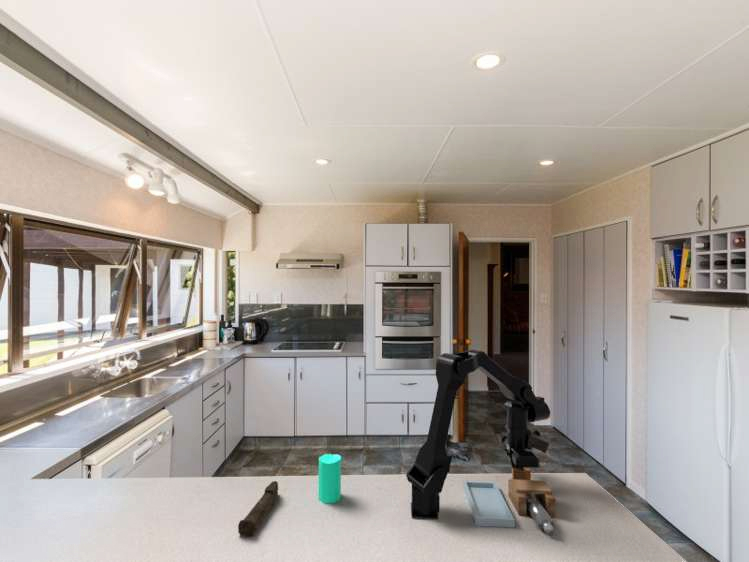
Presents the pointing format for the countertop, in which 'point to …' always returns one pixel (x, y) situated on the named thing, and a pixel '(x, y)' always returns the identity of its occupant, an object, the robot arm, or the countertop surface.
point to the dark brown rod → (258, 511)
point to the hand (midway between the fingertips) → (517, 478)
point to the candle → (329, 478)
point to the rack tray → (487, 504)
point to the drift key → (521, 474)
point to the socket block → (530, 486)
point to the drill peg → (539, 514)
